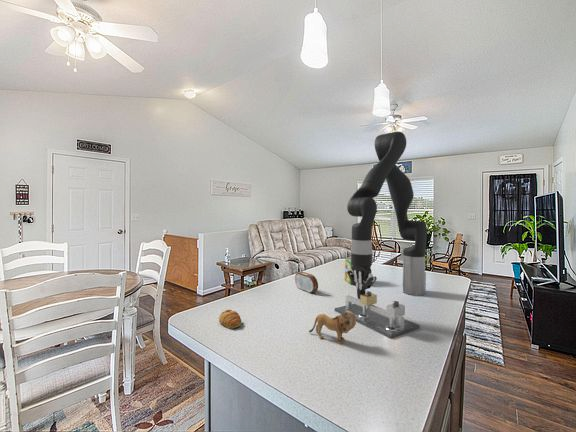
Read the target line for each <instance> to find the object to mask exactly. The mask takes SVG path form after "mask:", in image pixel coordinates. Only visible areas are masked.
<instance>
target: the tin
mask: <svg viewBox="0 0 576 432" xmlns="http://www.w3.org/2000/svg"><path fill="white" fill-rule="evenodd" d="M294 280H295V281H294V283H295V284H296V287H297V289H299V290H301V291H304V292H306V293H308V294H313V293H316V292H317V291H318V290H319V283H318V279H317V277H316V276H315V275H314V274H311V273H308V272H306V271H302V270H301V271H299V272H297V273H295V275H294Z"/></svg>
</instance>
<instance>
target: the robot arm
mask: <svg viewBox="0 0 576 432" xmlns="http://www.w3.org/2000/svg"><path fill="white" fill-rule="evenodd" d="M406 148H407V137H406V135H405V134H404V133H403V131H402V132H401V131H393V132H388V133H383V134H382V133H381V134H379V135H377V136H376V137H375V140H374V150H375V154H376V156H377V158H378V161H379V162H377V163H376V164H375V165H374V166H373V167H371V169H370V170H369V171H368V173H367V174H366V175H365V177H364V179H363V182H362V184H361V185H360V187H359V188H358V189H357V190H356V191H355V193H353V194H352V196H351V197H350V198H349V200H348V202H347V205H346V207H347V210H346V211H347V212H348V214H349V215H350V216H352V217H359V218H361V219H360V222H357V223H354V224H352V226H351V243H350V259H351V264H352V269H351V270H350V271H347V273H348V276H349V278H350V280H351V282H352V284H351V285H352V286H354V287H355V288H356V295H357V296H356V298H357V299H360V295H362V294H366V290H368V289H371V287H372V286H373V285H374V284H375V282H376V280H378V278H377V276H374V275H373V273H372V265H373V242H372V241H373V240H372V239H373V238H372V237H373V236H372V234H373V233H372V230H373V226H374V225H373V224H374V221H375V218H376V215H377V211H378V205H377V202H376V200H375V198H377V196H379V194H380V192H381V189H382V187H383V185H384V183H385V181H386V183H387V184H386V185H387V187H388V191H389V196H390V198H391V201H392V204H393V208H394V212H395V215H396V220H397V221H396V222H397V227H398V232H399V235H400V237H401V239H402V240H405V241H413V242H414V244H413V245H412V246H409V247H406V248H404V249H403V250H402V293H404V294H407V295H410V296H423V295H425V293H427V292H426V291H427V289H426V287H427V285H426V284H427V277H426V276H427V272H426V248H427V235H428V227H427V226H428V225H427V224H426V222H425V221H424V220H410V219H409V217H408V211H409V208H410V206H411V204H412V203H413V202H412V201H413V200H414V197H415V195H414V190H413V185H412V181H411V180H410V178H409V177H408V176H407V175H406V174H405V173H404V172H403V171H402V170H401V169H400V168H399V167H398V166H397V163H398V161H400V158H401V157H402V155H403V154H404V152H405V151H406ZM354 280H355V281H354Z"/></svg>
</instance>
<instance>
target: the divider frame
mask: <svg viewBox="0 0 576 432" xmlns="http://www.w3.org/2000/svg"><path fill="white" fill-rule="evenodd" d="M352 304H356V305H359V306H361V307H363V304H361V303H360V299H358V297H354V296H352V295H349V294H347V295H345V306H347V307H352ZM366 309H368V310H371V311H373V312H375V313H378V314H380V315H383V316H385V317H387V318H390V325H389V326H390V327H393V320H394V321H396V328H397V329H398V330H400V331H401V330H404V319H405V317H404V316H405V315H406V305H404V304H401V303H400V302H399V301H398V300H392V303H391V304H388V305H386V309H385V308H382V307H379V306H378V305H375V304H372V305H368V306H366Z"/></svg>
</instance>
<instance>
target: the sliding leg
mask: <svg viewBox="0 0 576 432" xmlns="http://www.w3.org/2000/svg"><path fill="white" fill-rule="evenodd" d="M360 303H361V304H363V315H366V306H368V305H375V304H377V303H378V294H375V293H372V291H368V290H367V291H365V294H362V295H360Z"/></svg>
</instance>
